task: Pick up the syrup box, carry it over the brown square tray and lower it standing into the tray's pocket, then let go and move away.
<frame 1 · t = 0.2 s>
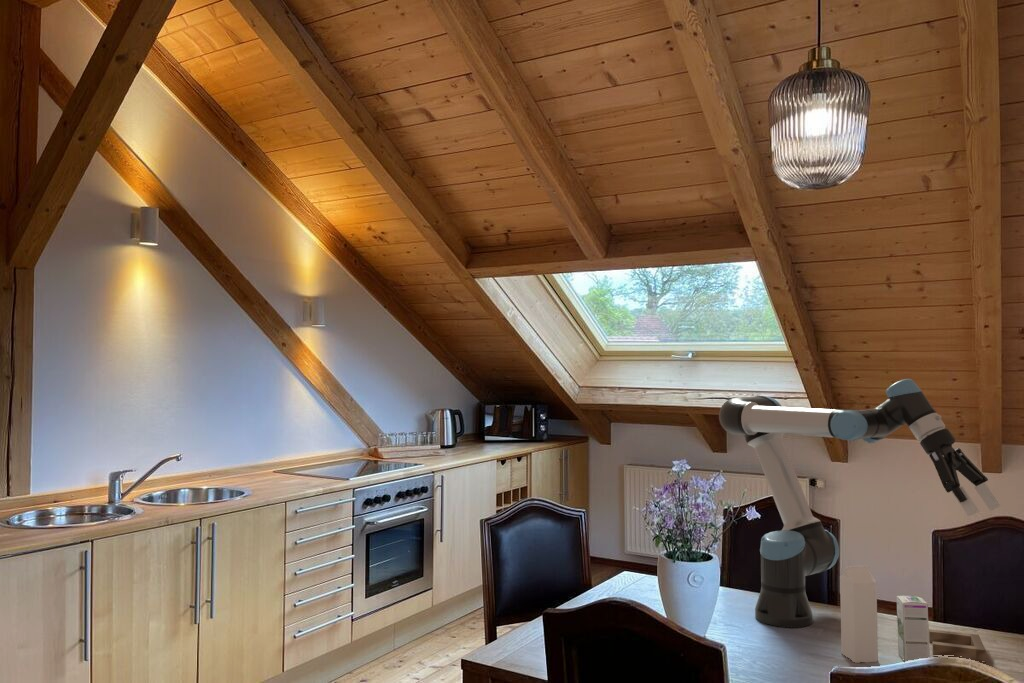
hand: (985, 511, 189), 35 cm above the table, tool tilted 35°, fingers open, 13 cm apart
milk: (859, 658, 189), on the table
brown square tray: (951, 651, 193), on the table
syrup box: (913, 660, 187), on the table
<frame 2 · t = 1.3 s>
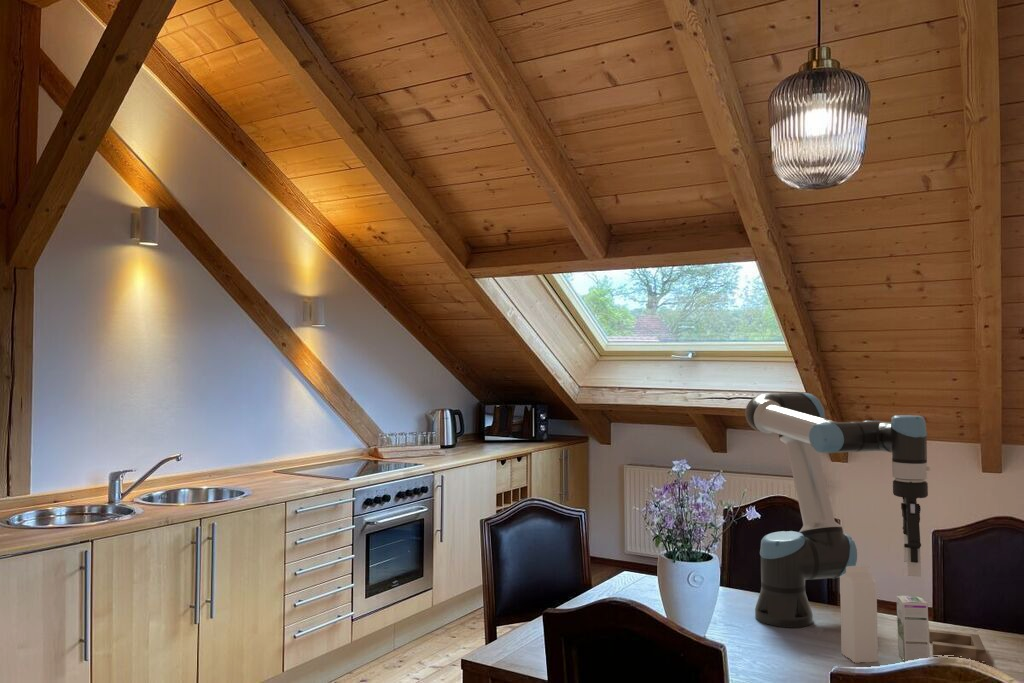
hand: (912, 569, 188), 22 cm above the table, tool pointing down, fingers open, 13 cm apart
nothing on the table moved.
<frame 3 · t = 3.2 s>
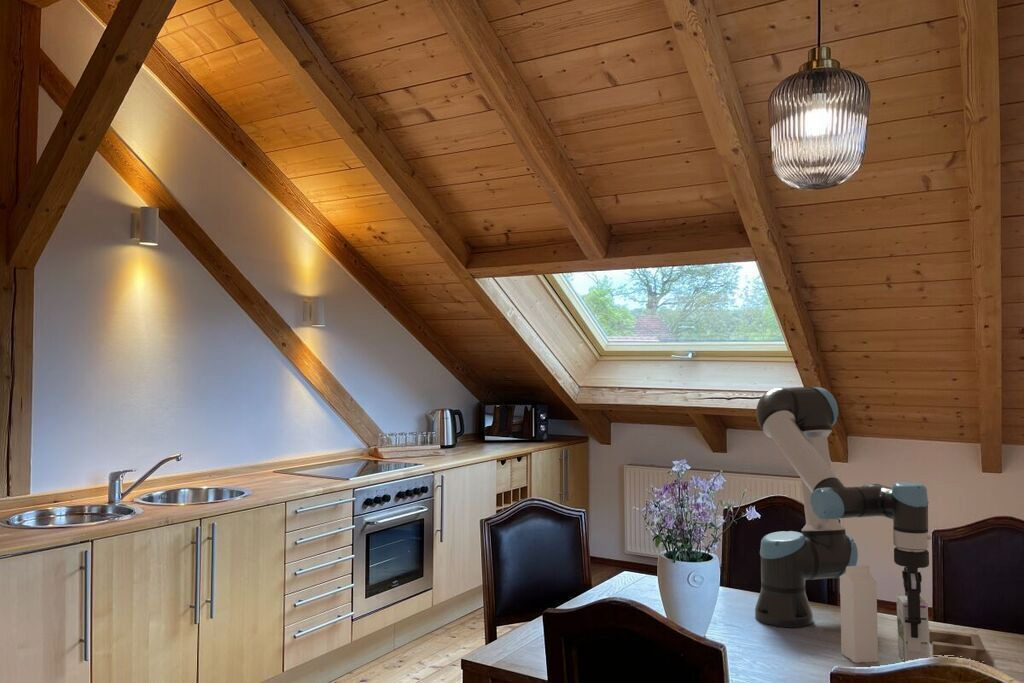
hand: (913, 645, 188), 3 cm above the table, tool pointing down, fingers closed on syrup box, 6 cm apart
syrup box: (913, 660, 187), on the table, touching gripper
everything else where it was.
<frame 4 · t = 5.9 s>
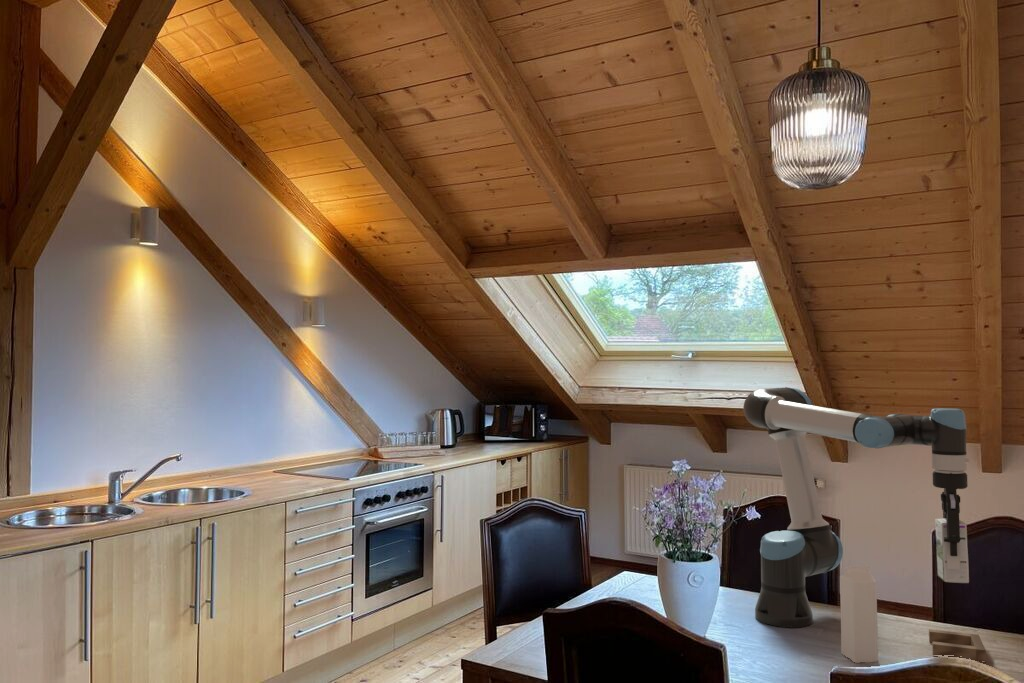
hand: (952, 565, 193), 21 cm above the table, tool pointing down, fingers closed on syrup box, 6 cm apart
syrup box: (952, 580, 193), point 17 cm above the table, touching gripper
everything else where it was.
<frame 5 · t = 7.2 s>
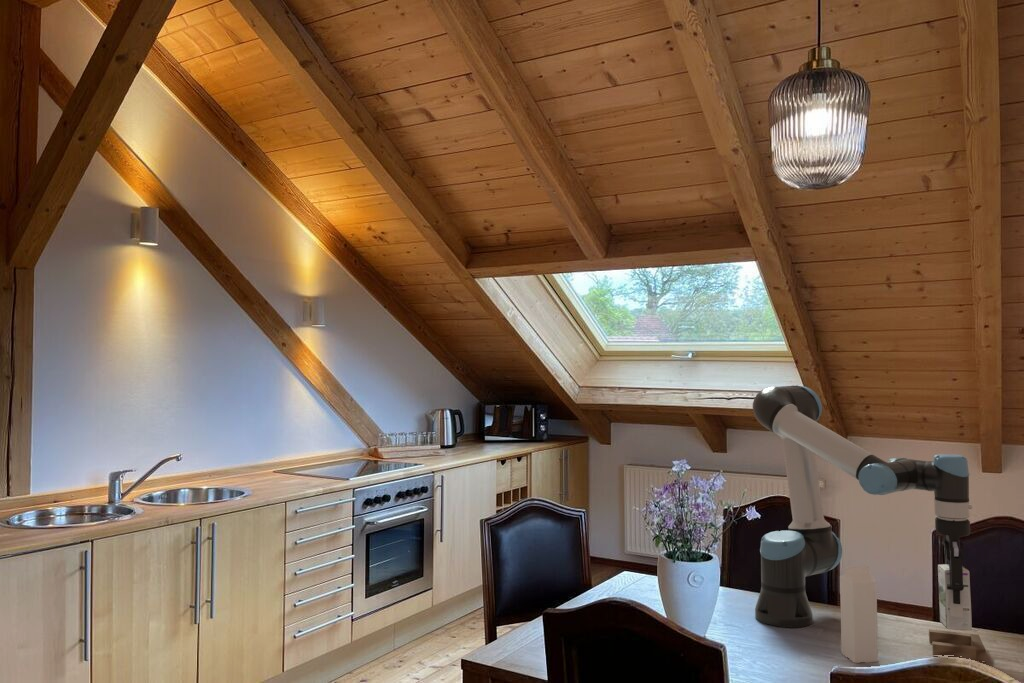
hand: (954, 612, 193), 10 cm above the table, tool pointing down, fingers closed on syrup box, 6 cm apart
syrup box: (955, 627, 193), point 6 cm above the table, touching gripper
everything else where it was.
when the fingers open (5 cm above the table, at t = 8.2 s): syrup box drops 2 cm, resting in brown square tray.
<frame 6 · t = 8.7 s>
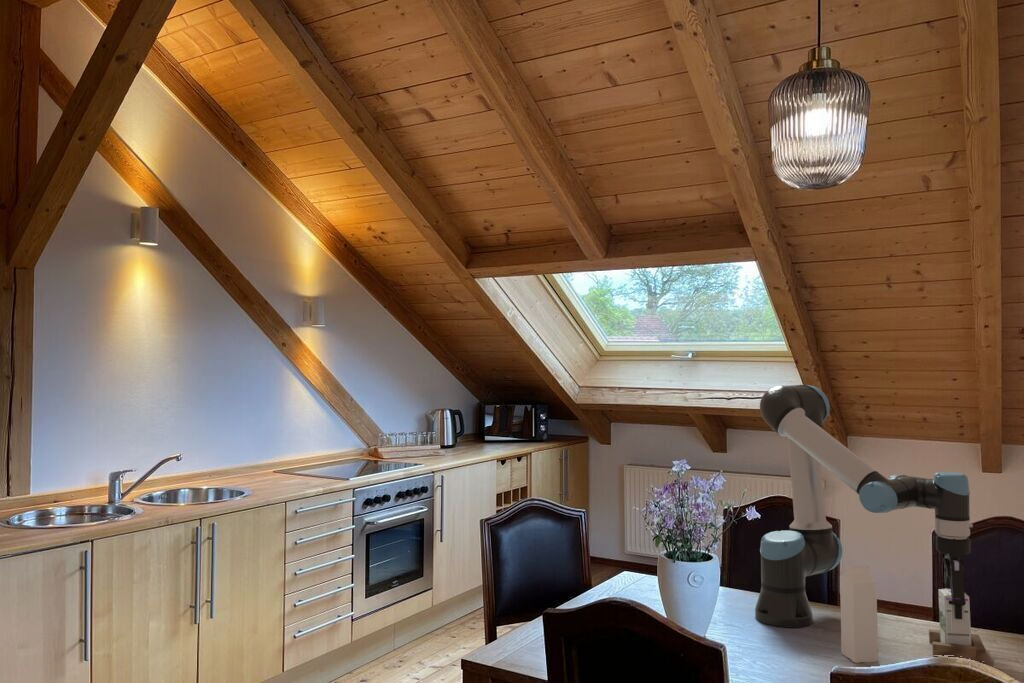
hand: (954, 623, 193), 7 cm above the table, tool pointing down, fingers open, 13 cm apart
syrup box: (955, 652, 193), resting in brown square tray
everything else where it was.
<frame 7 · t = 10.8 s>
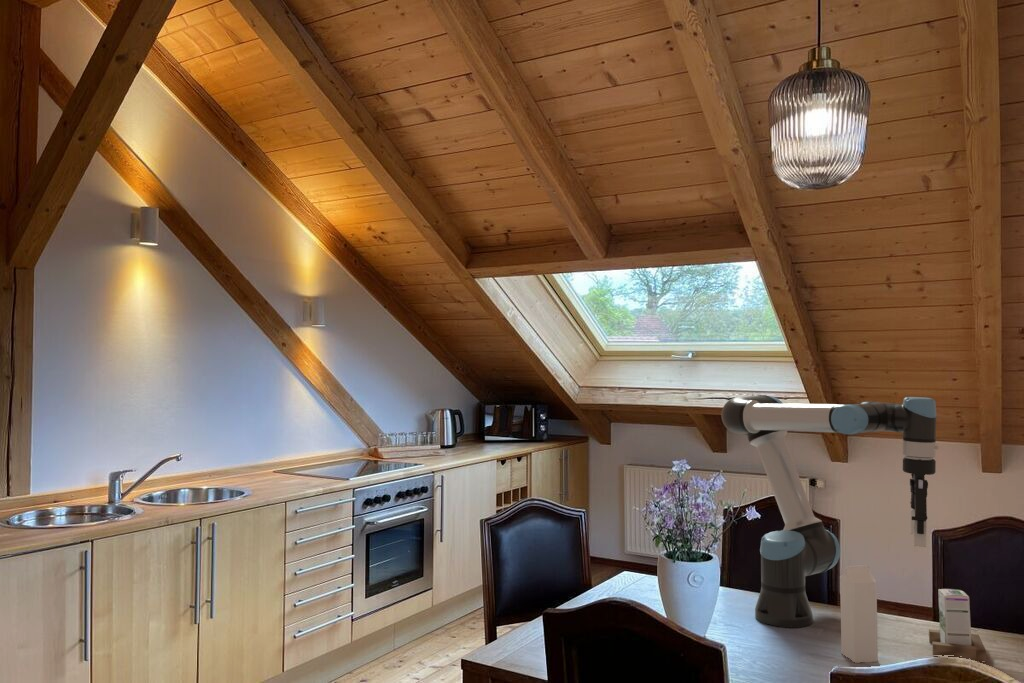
hand: (918, 540, 202), 25 cm above the table, tool pointing down, fingers open, 13 cm apart
nothing on the table moved.
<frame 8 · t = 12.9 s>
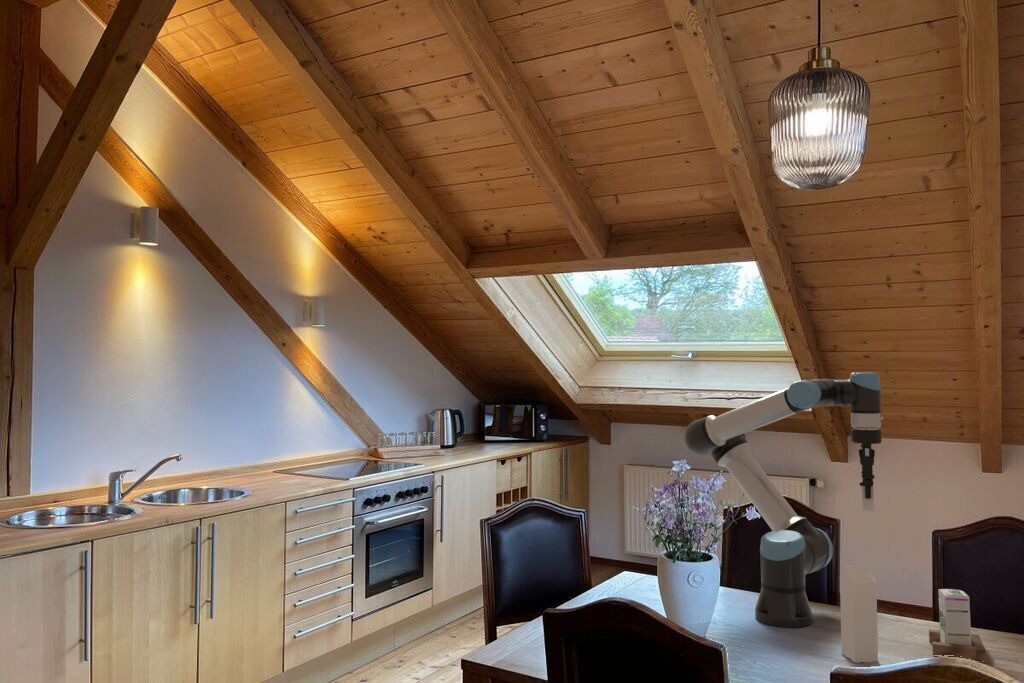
hand: (867, 506, 215), 32 cm above the table, tool pointing down, fingers open, 13 cm apart
nothing on the table moved.
at the end: syrup box inside the target area (0.2 cm from its centre), resting in brown square tray; syrup box tilted 0°; the gripper is holding nothing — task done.
